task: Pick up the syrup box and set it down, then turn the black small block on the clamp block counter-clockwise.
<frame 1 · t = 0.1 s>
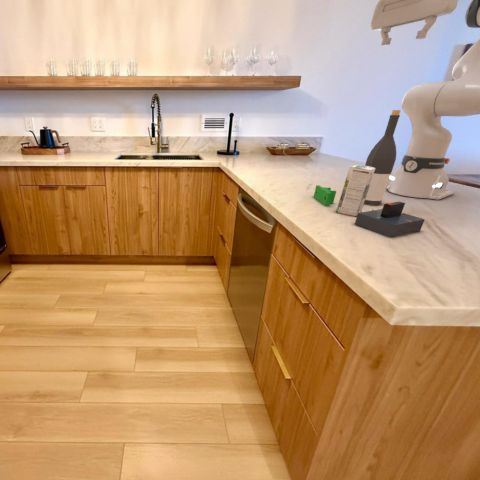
hand: (401, 42, 83), 48 cm above the counter, tool pointing down, fingers open, 8 cm apart
pipe clamp: (324, 202, 103), on the counter
syrup box: (348, 213, 92), on the counter
black small block: (392, 209, 78), point 5 cm above the counter, hinge at 0.0°
clamp block: (386, 227, 80), on the counter
wine bottle: (367, 202, 102), on the counter
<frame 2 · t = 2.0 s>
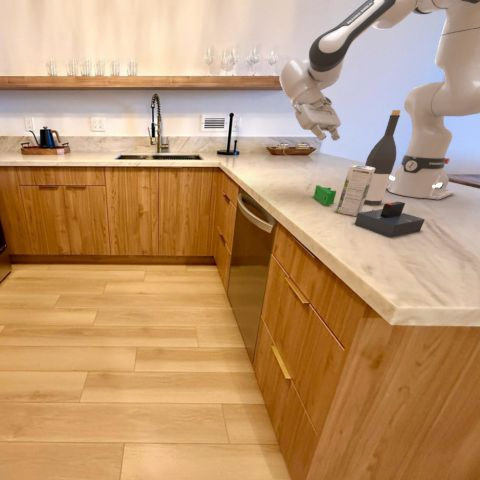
hand: (330, 139, 92), 21 cm above the counter, tool tilted 45°, fingers open, 8 cm apart
nothing on the counter moved.
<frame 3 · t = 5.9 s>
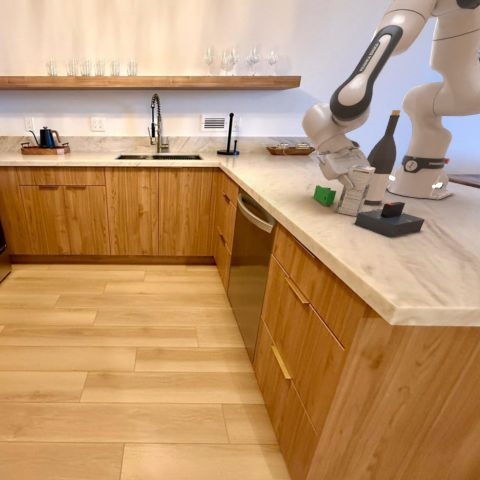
hand: (358, 187, 88), 8 cm above the counter, tool tilted 45°, fingers closed on syrup box, 6 cm apart
syrup box: (348, 213, 92), on the counter, touching gripper
everything else where it was.
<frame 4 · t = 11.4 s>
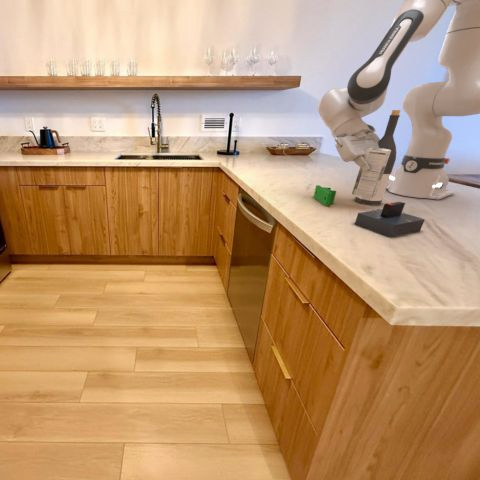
hand: (374, 169, 90), 13 cm above the counter, tool tilted 45°, fingers closed on syrup box, 6 cm apart
syrup box: (363, 195, 94), point 4 cm above the counter, touching gripper
wine bottle: (367, 202, 102), on the counter, touching gripper
everything else where it was.
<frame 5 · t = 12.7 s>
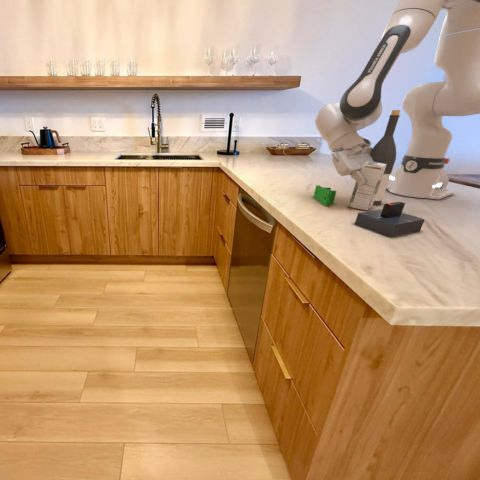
hand: (370, 182, 92), 9 cm above the counter, tool tilted 45°, fingers closed on syrup box, 6 cm apart
syrup box: (360, 207, 96), on the counter, touching gripper
everything else where it was.
when the fingers open (8 cm above the counter, at t = 13.4 s): syrup box stays where it is, on the counter.
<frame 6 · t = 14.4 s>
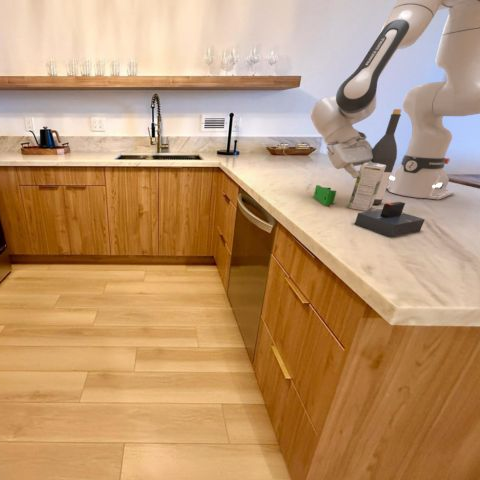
hand: (365, 175, 93), 11 cm above the counter, tool tilted 45°, fingers open, 8 cm apart
syrup box: (359, 208, 96), on the counter
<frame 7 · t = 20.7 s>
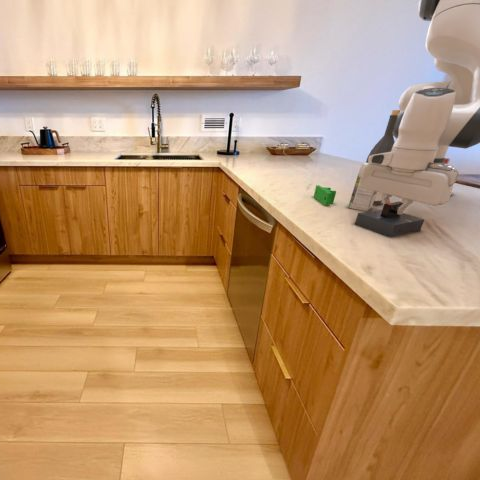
hand: (391, 212, 78), 5 cm above the counter, tool pointing down, fingers closed on black small block, 2 cm apart
black small block: (392, 209, 78), point 5 cm above the counter, hinge at -0.1°, touching gripper
wine bottle: (367, 202, 102), on the counter
everything else where it was.
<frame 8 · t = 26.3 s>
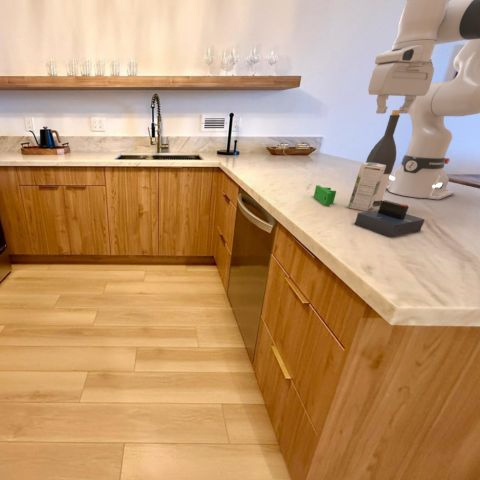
hand: (391, 113, 82), 29 cm above the counter, tool pointing down, fingers open, 8 cm apart
black small block: (392, 209, 78), point 5 cm above the counter, hinge at 90.1°
everything else where it was.
at the end: black small block at +90° (first picture: +0°); syrup box inside the target area (0.2 cm from its centre), on the counter; syrup box tilted 0° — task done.
